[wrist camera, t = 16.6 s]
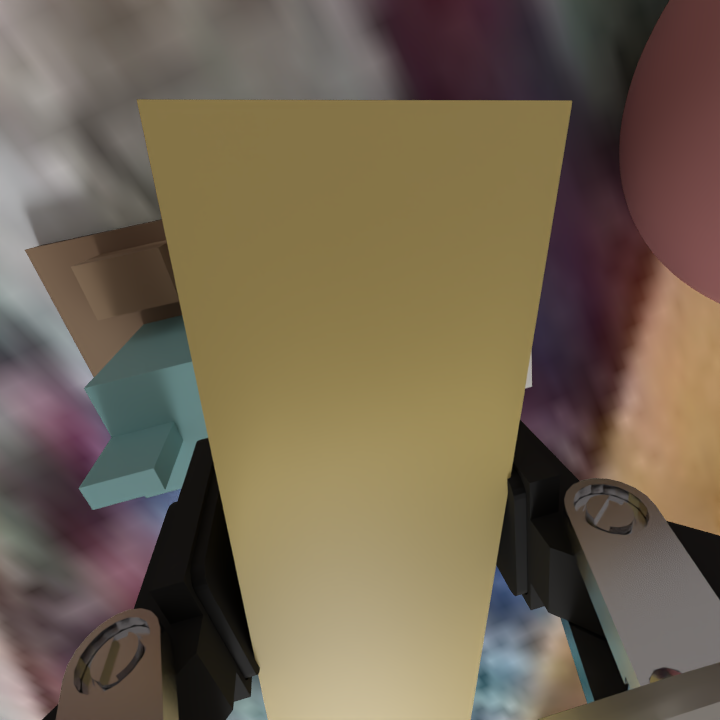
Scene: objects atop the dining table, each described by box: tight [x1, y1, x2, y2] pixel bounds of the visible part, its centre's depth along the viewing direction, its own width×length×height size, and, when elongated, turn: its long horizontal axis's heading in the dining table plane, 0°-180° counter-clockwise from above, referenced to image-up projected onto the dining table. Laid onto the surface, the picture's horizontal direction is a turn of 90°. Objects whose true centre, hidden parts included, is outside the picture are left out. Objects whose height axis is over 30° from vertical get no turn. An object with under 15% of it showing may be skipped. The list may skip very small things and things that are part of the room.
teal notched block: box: [79, 315, 532, 510], centre depth 15 cm, size 14×4×8 cm, turn 101°
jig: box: [25, 219, 182, 377], centre depth 19 cm, size 20×12×4 cm, turn 101°
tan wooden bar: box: [137, 100, 572, 720], centre depth 9 cm, size 4×14×4 cm, turn 1°
